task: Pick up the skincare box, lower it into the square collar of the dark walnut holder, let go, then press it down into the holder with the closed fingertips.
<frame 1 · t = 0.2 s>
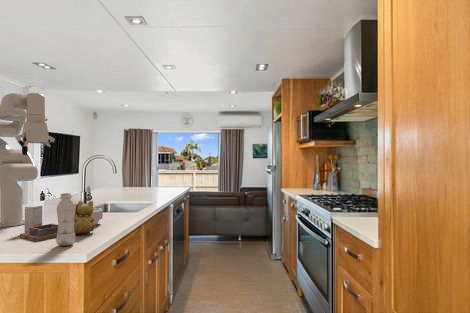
hand: (36, 155, 151), 36 cm above the countertop, tool pointing down, fingers open, 9 cm apart
plastic bottle: (65, 246, 123), on the countertop
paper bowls: (86, 225, 162), on the countertop
serum holder: (46, 235, 139), on the countertop
decorative figurine: (83, 234, 141), on the countertop
skincare box: (33, 232, 146), on the countertop
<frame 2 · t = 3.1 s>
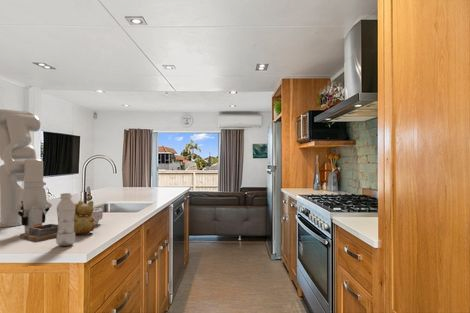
hand: (33, 223, 146), 4 cm above the countertop, tool pointing down, fingers closed on skincare box, 7 cm apart
skincare box: (33, 232, 146), on the countertop, touching gripper
everything else where it was.
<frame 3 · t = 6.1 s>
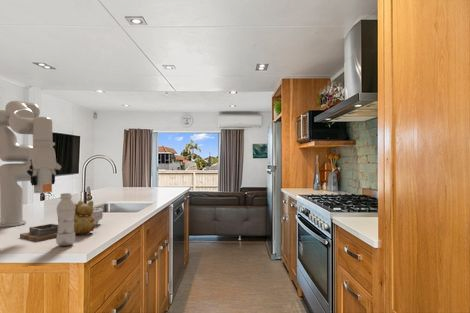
hand: (43, 184, 141), 22 cm above the countertop, tool pointing down, fingers closed on skincare box, 7 cm apart
skincare box: (43, 193, 141), point 18 cm above the countertop, touching gripper
everything else where it was.
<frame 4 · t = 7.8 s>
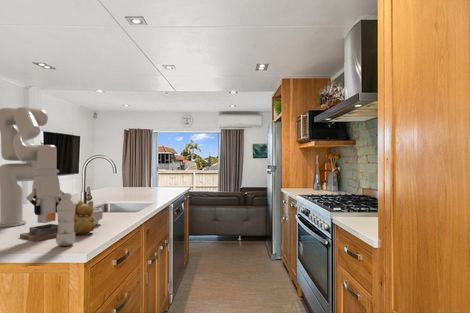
hand: (46, 213, 139), 10 cm above the countertop, tool pointing down, fingers closed on skincare box, 7 cm apart
skincare box: (46, 222, 139), point 6 cm above the countertop, touching gripper
everything else where it was.
when the fingers open (6 cm above the countertop, at t = 9.2 s): skincare box stays where it is, resting on serum holder.
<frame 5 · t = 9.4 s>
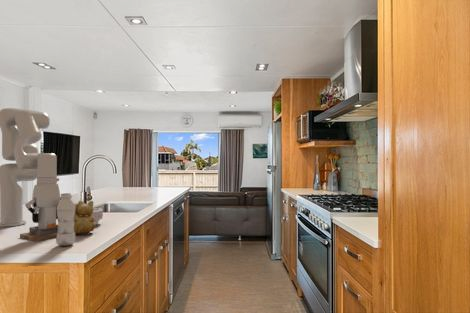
hand: (46, 220, 139), 7 cm above the countertop, tool pointing down, fingers open, 8 cm apart
skincare box: (47, 232, 139), point 1 cm above the countertop, touching serum holder
everything else where it was.
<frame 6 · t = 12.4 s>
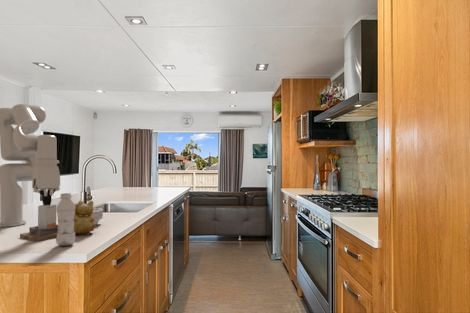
hand: (47, 204, 139), 14 cm above the countertop, tool pointing down, fingers closed
skincare box: (47, 232, 139), point 1 cm above the countertop, touching gripper, serum holder
everything else where it was.
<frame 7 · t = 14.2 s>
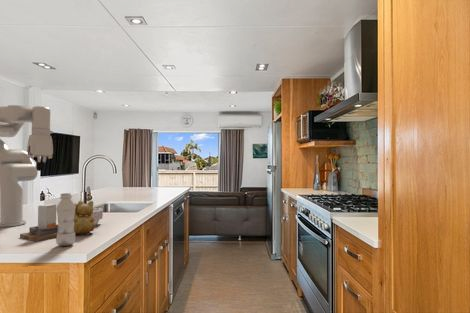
hand: (40, 170, 152), 28 cm above the countertop, tool pointing down, fingers closed
skincare box: (47, 232, 139), point 1 cm above the countertop, touching serum holder
everything else where it was.
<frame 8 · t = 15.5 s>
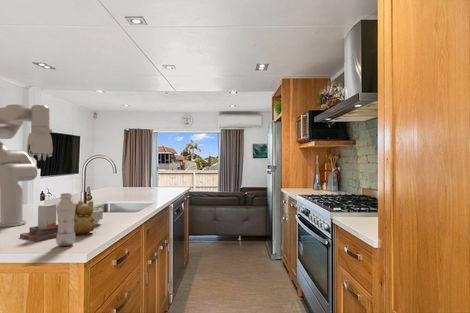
hand: (40, 168, 153), 29 cm above the countertop, tool pointing down, fingers closed
nothing on the countertop moved.
at the end: skincare box 0.3 cm off-centre on the serum holder, point 1.3 cm above the serum holder's base; skincare box tilted 0°; the gripper is holding nothing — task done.
